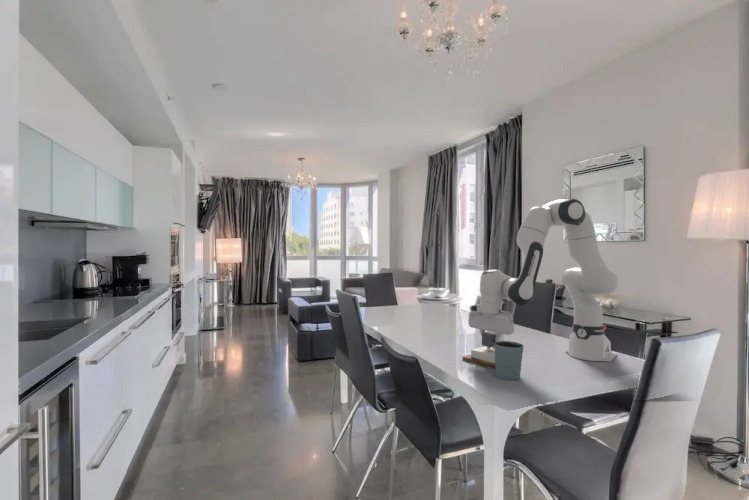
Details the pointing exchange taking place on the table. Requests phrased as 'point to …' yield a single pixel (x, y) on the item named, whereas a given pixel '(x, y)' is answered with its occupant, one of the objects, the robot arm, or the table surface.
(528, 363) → the table surface
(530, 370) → the table surface
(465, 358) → the mounting board
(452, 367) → the table surface
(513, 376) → the teal cup
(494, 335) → the plug
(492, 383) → the table surface
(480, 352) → the socket
